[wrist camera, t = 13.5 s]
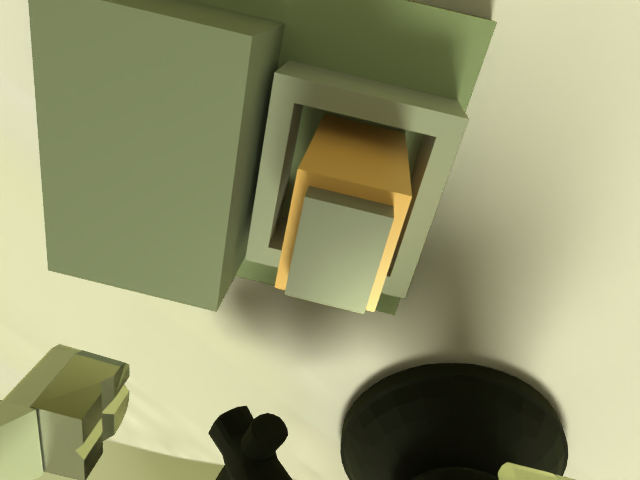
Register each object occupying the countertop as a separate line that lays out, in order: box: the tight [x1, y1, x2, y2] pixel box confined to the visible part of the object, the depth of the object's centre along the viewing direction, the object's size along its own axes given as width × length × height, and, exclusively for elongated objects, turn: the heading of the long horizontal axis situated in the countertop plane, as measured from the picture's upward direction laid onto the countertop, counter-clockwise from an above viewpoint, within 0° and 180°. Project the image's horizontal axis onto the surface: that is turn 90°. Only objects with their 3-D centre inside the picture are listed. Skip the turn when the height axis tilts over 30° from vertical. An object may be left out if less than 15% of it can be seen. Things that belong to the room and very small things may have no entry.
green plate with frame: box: [28, 0, 497, 315], centre depth 23 cm, size 18×16×7 cm
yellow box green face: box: [274, 114, 412, 314], centre depth 21 cm, size 4×5×9 cm
